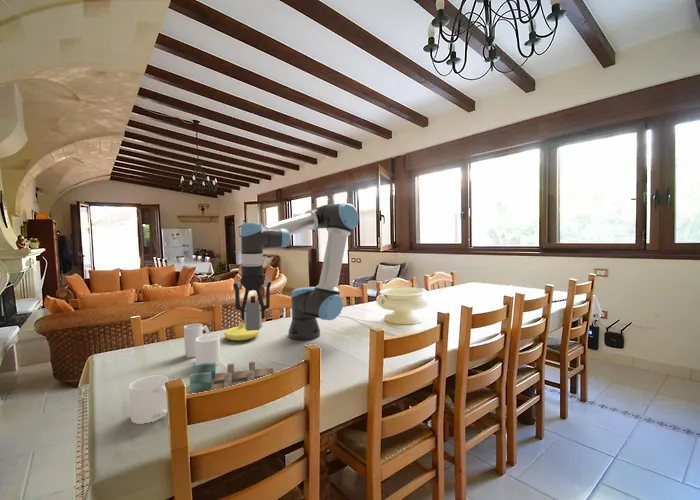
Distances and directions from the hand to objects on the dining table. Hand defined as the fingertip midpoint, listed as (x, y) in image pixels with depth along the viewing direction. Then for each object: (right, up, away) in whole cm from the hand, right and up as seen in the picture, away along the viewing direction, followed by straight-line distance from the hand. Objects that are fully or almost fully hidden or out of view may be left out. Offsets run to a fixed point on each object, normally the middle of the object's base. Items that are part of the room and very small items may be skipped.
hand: (253, 327), depth 121 cm
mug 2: (-27, -14, +14) cm, 34 cm away
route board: (-3, -16, -12) cm, 20 cm away
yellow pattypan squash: (-15, -13, +33) cm, 39 cm away
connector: (0, 0, 0) cm, 0 cm away
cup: (-20, -15, +4) cm, 25 cm away
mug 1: (-18, -17, -31) cm, 40 cm away
